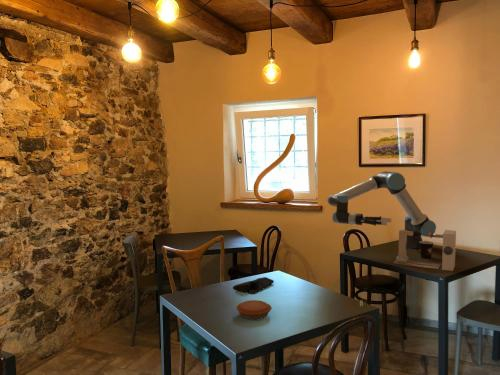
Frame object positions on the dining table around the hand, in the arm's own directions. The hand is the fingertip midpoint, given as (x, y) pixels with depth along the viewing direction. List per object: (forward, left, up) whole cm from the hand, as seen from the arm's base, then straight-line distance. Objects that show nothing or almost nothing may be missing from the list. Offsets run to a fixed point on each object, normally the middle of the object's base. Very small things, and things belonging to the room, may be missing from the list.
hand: (389, 221), depth 280 cm
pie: (+122, -31, -26) cm, 129 cm away
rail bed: (0, +18, -25) cm, 31 cm away
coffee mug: (-20, +19, -26) cm, 37 cm away
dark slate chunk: (+88, -50, -26) cm, 104 cm away
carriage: (0, +10, -24) cm, 26 cm away
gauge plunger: (0, +30, -8) cm, 31 cm away
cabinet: (0, +36, -25) cm, 44 cm away
